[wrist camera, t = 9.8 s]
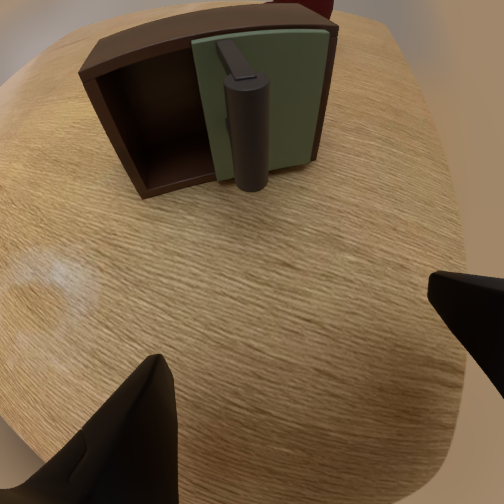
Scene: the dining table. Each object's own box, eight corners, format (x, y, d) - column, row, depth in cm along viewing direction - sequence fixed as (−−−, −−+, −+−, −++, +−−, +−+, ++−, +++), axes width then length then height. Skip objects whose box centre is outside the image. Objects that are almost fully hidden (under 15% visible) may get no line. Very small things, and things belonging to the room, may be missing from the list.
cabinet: (316, 160, 21) (339, 25, 11) (141, 199, 20) (77, 72, 10) (291, 117, 24) (298, 3, 13) (141, 149, 23) (98, 39, 12)
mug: (261, 56, 30) (260, -8, 21) (253, 38, 34) (251, -15, 25) (335, 57, 30) (343, -3, 21) (318, 38, 34) (322, -13, 25)
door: (338, 221, 18) (390, 80, 8) (233, 246, 17) (205, 92, 8) (306, 158, 20) (325, 29, 11) (215, 176, 20) (190, 40, 10)
